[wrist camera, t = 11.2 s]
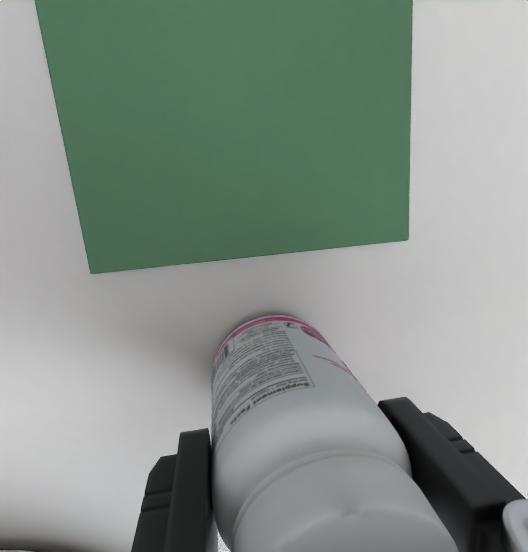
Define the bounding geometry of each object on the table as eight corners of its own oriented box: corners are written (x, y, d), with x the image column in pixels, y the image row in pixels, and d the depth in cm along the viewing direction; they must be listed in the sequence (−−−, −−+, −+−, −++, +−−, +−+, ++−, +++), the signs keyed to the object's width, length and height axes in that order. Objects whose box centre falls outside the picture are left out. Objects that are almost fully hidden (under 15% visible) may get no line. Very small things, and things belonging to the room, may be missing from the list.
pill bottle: (350, 380, 15) (523, 616, 6) (252, 441, 15) (303, 754, 6) (293, 287, 13) (421, 435, 5) (187, 354, 13) (146, 607, 5)
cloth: (407, -56, 12) (414, -64, 11) (403, 239, 14) (408, 240, 14) (27, -57, 10) (20, -67, 10) (93, 271, 13) (90, 274, 12)
